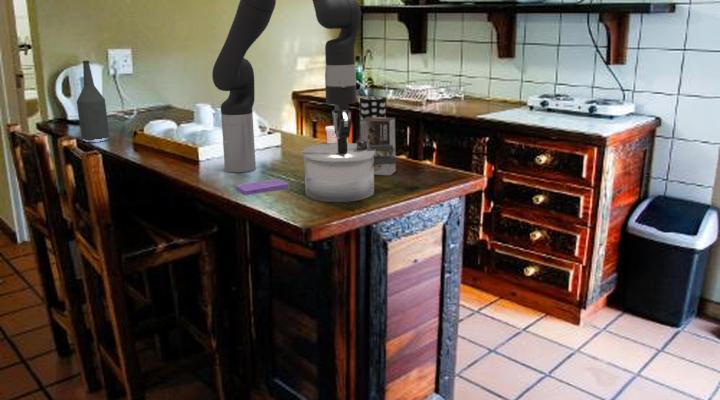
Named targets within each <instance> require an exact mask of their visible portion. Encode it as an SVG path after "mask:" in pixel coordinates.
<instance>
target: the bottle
mask: <svg viewBox="0 0 720 400" xmlns="http://www.w3.org/2000/svg"><path fill="white" fill-rule="evenodd" d="M82 66H83V68H82V69H83V71H82V72H83V87H82V89H81V91H80V92H79V95H78V97H77V99H76V107H77V115H78V121H79V122H78V123H79V129H80V135H81V136H80V137H81V140H82V139H85V140H94V139H102V138H107V137H110V130H109V122H108V112H107V106H106V99H105V97H104V96H103V95H102V94H101V92H100V91H99V90H98V88H97V87H96V86H95V84H94V79H93V74H92V70H91V66H90V61H89V60H82ZM110 138H111V137H110Z"/></svg>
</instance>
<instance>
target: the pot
mask: <svg viewBox="0 0 720 400" xmlns="http://www.w3.org/2000/svg"><path fill="white" fill-rule="evenodd" d="M303 160H304V162H303V163H304V182H305V183H304V185H305V186H304V188H305V195H306V197H308V198H310V199H312V200H313V201H314V200H315V201H319V202H327V203H348V202H355V201H356V202H357V201H361V200H365V199H368V198H370V197H371V196H373V195H374V194H375V175H374V165H381V164H396V165H397V157H395V156H381V157H373V158H370V159H367V160H362V161H356V162H343V163H329V162H317V161H312V160H308V159H305V158H304V157H303Z"/></svg>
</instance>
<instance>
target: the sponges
mask: <svg viewBox="0 0 720 400" xmlns="http://www.w3.org/2000/svg"><path fill="white" fill-rule="evenodd" d="M289 187H290V186H289V182H285V181H284V180H281V179H279V178H275V179H269V180H262V181H255V182H247V183H241V184H239V183H238V184H236V185H235V189H236V191H237V192H239V193H241V194H243V195H244V196H248V195H255V194H260V193H261V194H262V193H268V192H274V191H281V190H288V189H289Z"/></svg>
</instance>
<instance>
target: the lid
mask: <svg viewBox="0 0 720 400" xmlns="http://www.w3.org/2000/svg"><path fill="white" fill-rule="evenodd" d="M392 150H393V146H392V145H391V144H385V145H367V141H365V140H360V139H359V140H357V141H356V142H355V143H352V142H349V143H348V142H347V153H346V154H339V153H338V143H327V142H326V143H322V144H320V143H319V144H314V145H310V146H307V147H305V148H302V151H301V152H302V154H301V155H302V158H303V159H304V158H305V159H308V160H312V161H317V162H329V163H343V162H356V161H362V160H367V159H370V158H373V157H375V156H376V151H392Z"/></svg>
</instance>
